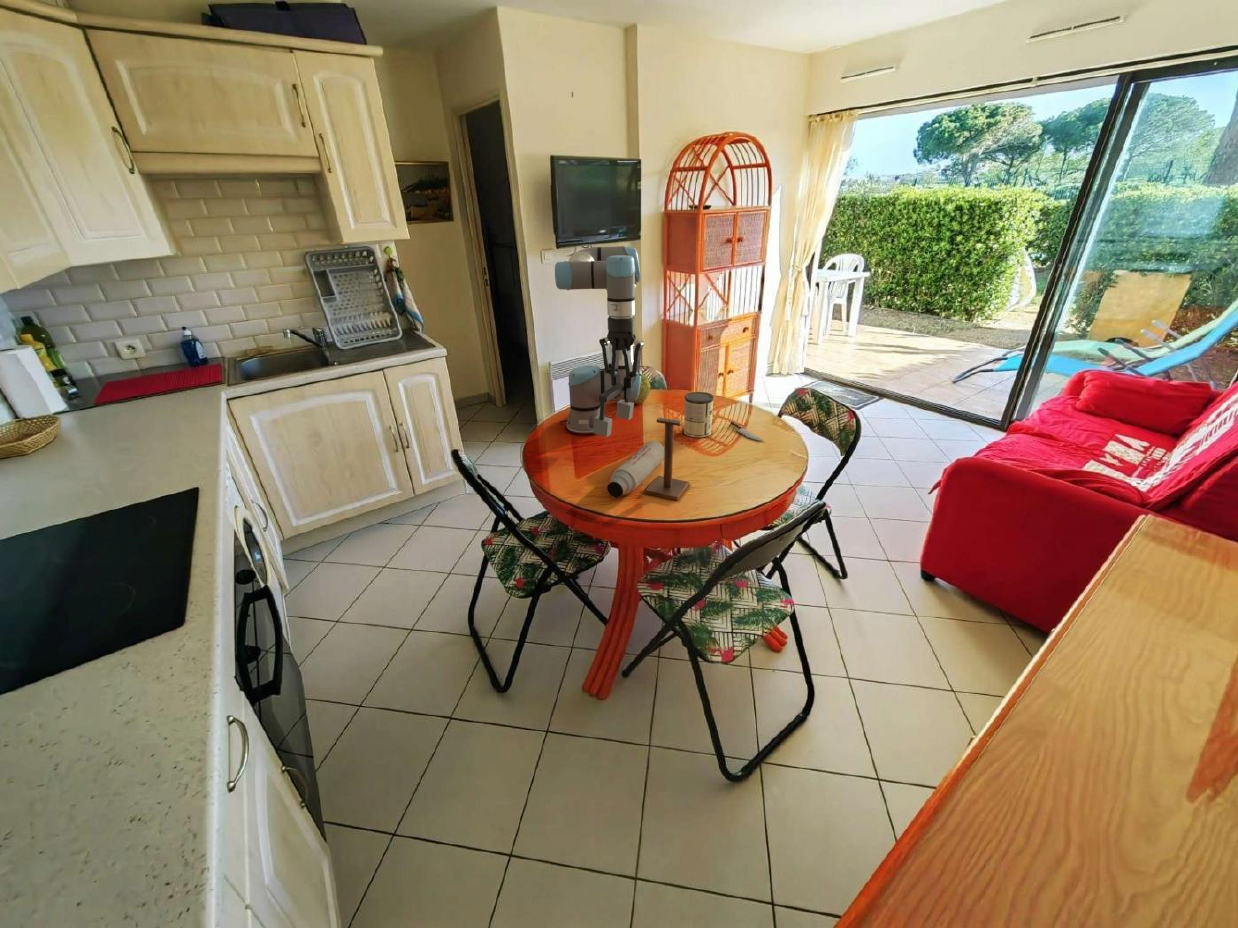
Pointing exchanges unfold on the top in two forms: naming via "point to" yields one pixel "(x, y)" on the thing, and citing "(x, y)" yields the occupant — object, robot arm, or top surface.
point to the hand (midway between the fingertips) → (622, 397)
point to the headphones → (623, 411)
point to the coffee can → (698, 414)
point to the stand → (668, 468)
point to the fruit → (643, 390)
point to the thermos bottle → (635, 469)
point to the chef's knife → (746, 432)
